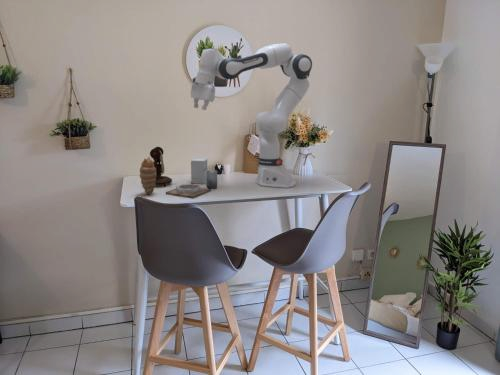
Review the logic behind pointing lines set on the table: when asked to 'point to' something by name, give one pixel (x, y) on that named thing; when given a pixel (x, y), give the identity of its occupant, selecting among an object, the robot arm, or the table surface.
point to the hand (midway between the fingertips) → (199, 108)
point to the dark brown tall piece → (159, 166)
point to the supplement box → (199, 171)
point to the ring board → (203, 190)
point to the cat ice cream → (148, 175)
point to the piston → (211, 179)
